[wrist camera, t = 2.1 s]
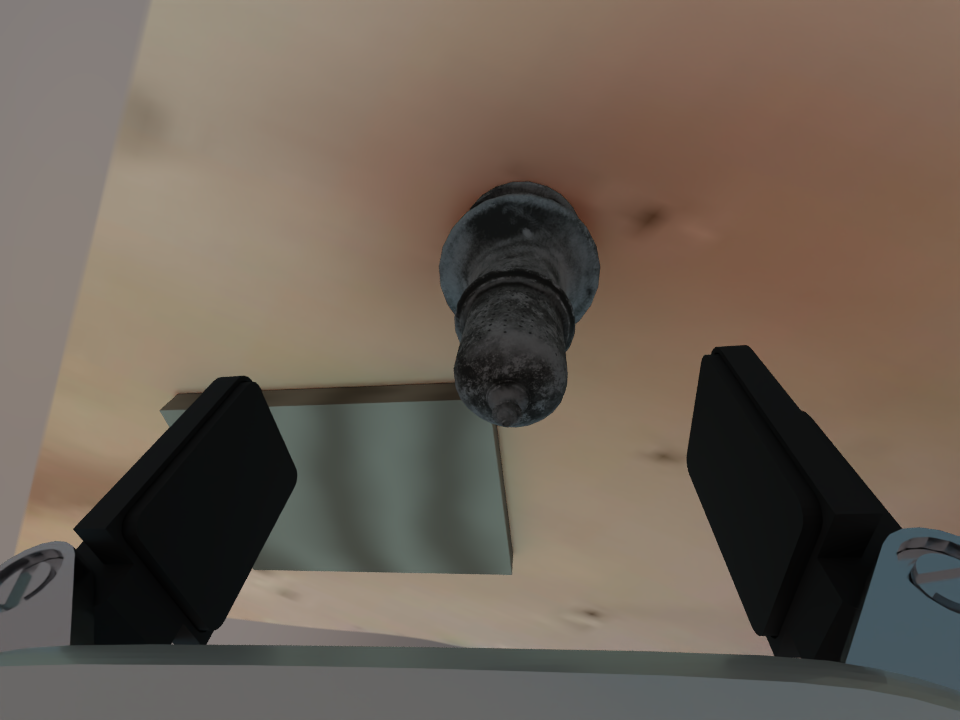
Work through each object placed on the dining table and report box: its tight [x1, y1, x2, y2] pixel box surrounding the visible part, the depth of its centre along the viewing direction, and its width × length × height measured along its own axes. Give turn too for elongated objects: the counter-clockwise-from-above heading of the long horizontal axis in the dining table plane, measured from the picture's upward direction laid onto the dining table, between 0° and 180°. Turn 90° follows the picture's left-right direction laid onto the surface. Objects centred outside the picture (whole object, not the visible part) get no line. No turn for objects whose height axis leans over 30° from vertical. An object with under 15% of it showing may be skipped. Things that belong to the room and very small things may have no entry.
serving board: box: [160, 383, 513, 575], centre depth 28 cm, size 18×14×2 cm
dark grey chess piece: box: [439, 182, 600, 427], centre depth 15 cm, size 6×6×12 cm
